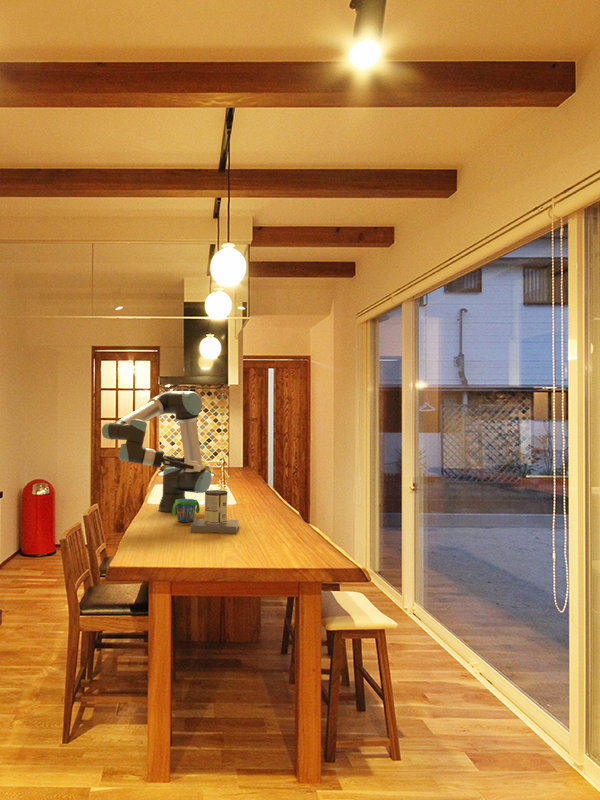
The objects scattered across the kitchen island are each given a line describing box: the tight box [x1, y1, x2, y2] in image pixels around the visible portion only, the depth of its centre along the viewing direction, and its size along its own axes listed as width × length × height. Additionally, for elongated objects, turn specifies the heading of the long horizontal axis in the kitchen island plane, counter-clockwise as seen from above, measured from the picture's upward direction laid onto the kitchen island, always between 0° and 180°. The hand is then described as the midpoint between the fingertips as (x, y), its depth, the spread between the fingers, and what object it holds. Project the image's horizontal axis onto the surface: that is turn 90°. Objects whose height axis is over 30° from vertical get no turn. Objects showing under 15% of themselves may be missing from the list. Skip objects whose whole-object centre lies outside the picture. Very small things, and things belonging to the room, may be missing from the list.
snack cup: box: [171, 498, 201, 523], centre depth 321 cm, size 16×10×10 cm
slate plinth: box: [190, 518, 240, 534], centre depth 303 cm, size 18×20×3 cm
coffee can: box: [203, 489, 229, 524], centre depth 303 cm, size 10×10×14 cm
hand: (199, 466), depth 309 cm, fingers open, 13 cm apart
